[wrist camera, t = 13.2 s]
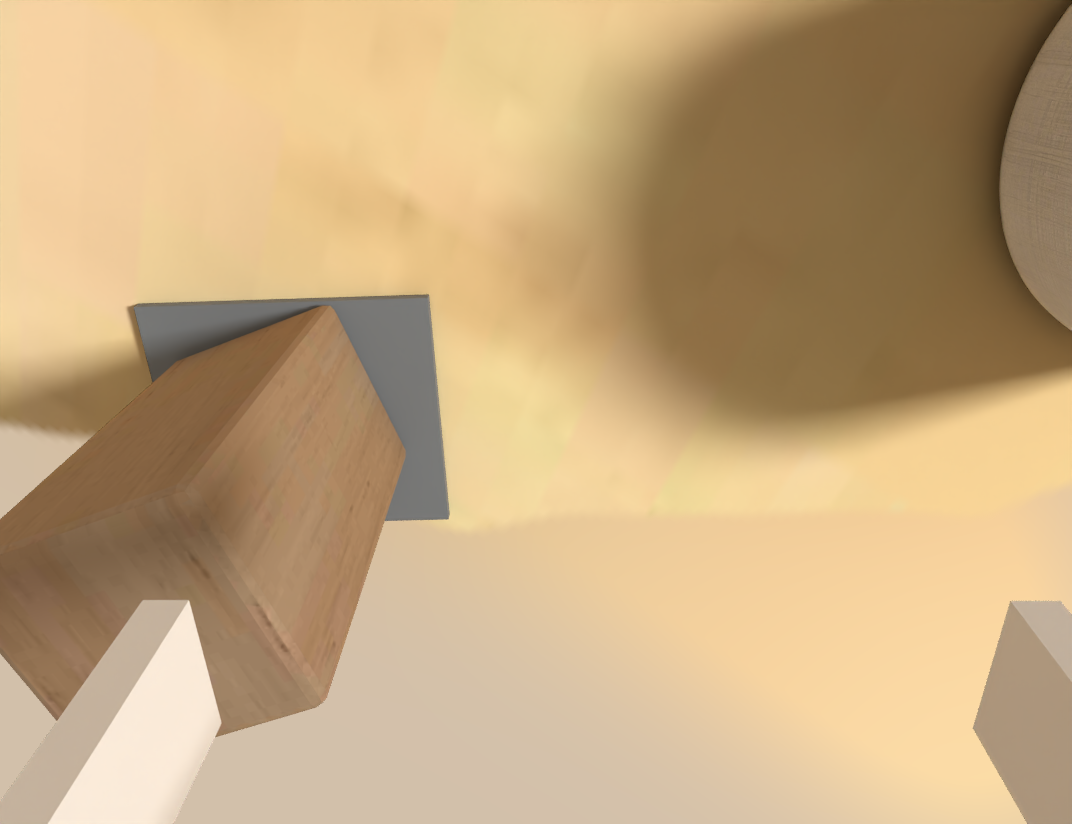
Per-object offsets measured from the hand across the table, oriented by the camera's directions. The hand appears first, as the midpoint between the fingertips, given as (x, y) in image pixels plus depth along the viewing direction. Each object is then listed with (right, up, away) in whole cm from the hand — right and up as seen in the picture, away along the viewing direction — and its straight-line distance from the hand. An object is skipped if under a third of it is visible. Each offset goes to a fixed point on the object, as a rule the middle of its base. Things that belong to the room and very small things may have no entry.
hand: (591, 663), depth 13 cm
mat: (-14, +4, +34) cm, 37 cm away
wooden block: (-15, +4, +34) cm, 37 cm away
